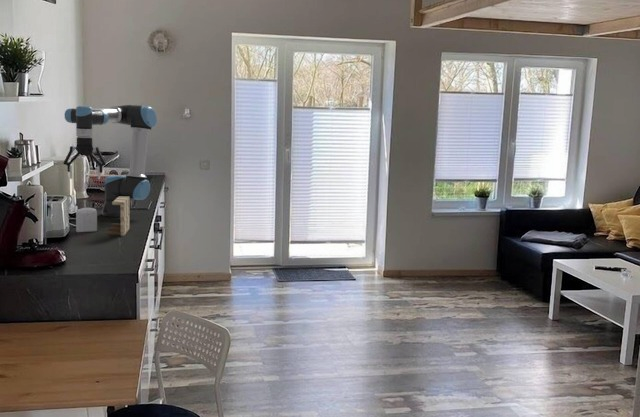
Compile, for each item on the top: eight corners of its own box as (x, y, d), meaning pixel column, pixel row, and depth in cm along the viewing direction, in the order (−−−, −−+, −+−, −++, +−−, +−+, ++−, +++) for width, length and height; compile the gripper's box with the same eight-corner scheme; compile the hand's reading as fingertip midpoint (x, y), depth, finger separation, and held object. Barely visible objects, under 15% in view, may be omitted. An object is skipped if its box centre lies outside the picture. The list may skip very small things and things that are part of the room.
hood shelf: (113, 228, 332) (112, 196, 329) (129, 228, 333) (129, 196, 330) (106, 235, 314) (106, 202, 311) (123, 235, 315) (123, 202, 312)
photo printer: (95, 229, 326) (95, 206, 324) (98, 231, 322) (97, 208, 320) (75, 231, 320) (74, 207, 318) (77, 233, 317) (76, 209, 314)
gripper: (56, 136, 309) (57, 179, 312) (109, 138, 313) (109, 180, 317) (60, 135, 316) (61, 177, 320) (111, 137, 320) (111, 178, 324)
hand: (85, 178), depth 318 cm, fingers open, 13 cm apart
